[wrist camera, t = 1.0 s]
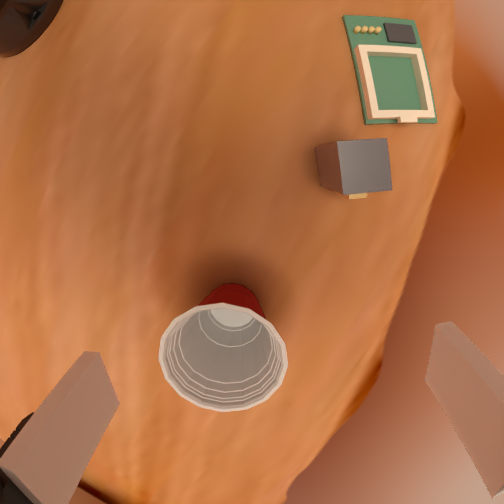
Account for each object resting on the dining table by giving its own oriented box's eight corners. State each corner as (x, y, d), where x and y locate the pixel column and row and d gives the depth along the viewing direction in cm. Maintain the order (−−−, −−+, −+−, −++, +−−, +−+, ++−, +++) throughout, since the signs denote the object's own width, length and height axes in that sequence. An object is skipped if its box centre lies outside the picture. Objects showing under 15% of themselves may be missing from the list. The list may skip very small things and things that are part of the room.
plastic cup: (298, 283, 35) (313, 340, 24) (256, 356, 38) (254, 425, 27) (207, 242, 34) (181, 284, 23) (175, 322, 37) (144, 383, 26)
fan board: (342, 17, 27) (348, 6, 24) (412, 22, 26) (422, 13, 23) (364, 125, 30) (374, 123, 27) (435, 124, 30) (448, 122, 27)
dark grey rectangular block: (314, 147, 31) (336, 141, 22) (351, 143, 31) (386, 138, 21) (320, 192, 32) (344, 205, 23) (357, 188, 32) (392, 200, 23)
